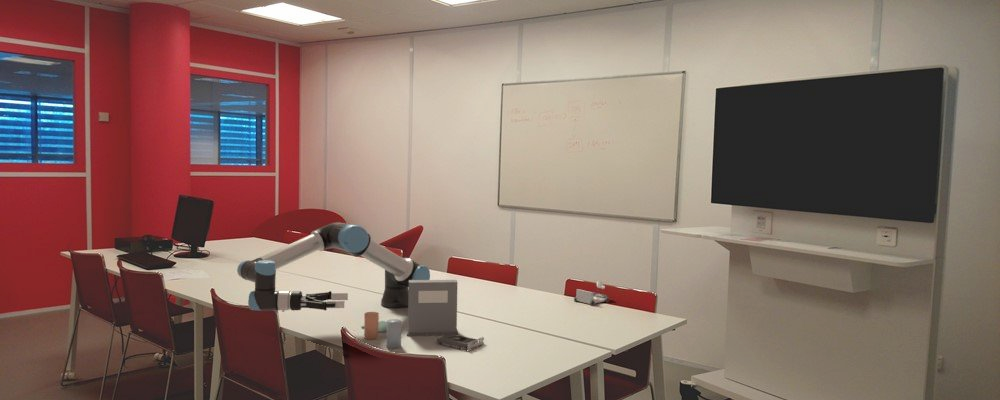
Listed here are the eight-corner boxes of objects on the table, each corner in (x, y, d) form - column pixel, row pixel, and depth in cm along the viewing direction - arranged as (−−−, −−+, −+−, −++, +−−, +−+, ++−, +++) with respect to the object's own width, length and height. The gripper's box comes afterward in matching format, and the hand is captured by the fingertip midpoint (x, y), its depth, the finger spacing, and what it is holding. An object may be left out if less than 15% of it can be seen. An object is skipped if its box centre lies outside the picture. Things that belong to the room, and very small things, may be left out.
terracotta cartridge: (361, 338, 245) (361, 313, 245) (371, 335, 250) (372, 311, 249) (370, 340, 242) (371, 316, 241) (381, 337, 247) (381, 313, 246)
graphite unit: (406, 331, 257) (407, 279, 255) (456, 330, 260) (457, 279, 258) (406, 335, 250) (407, 283, 248) (457, 334, 253) (458, 282, 251)
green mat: (361, 327, 260) (361, 326, 260) (382, 322, 270) (382, 320, 270) (380, 333, 253) (380, 331, 253) (401, 327, 263) (401, 325, 263)
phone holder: (595, 279, 328) (613, 283, 320) (595, 297, 329) (612, 301, 321) (574, 283, 316) (591, 287, 308) (573, 302, 317) (591, 306, 308)
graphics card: (486, 336, 241) (469, 343, 231) (486, 346, 241) (469, 353, 231) (451, 330, 250) (434, 336, 239) (451, 339, 250) (433, 345, 240)
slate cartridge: (383, 346, 235) (383, 321, 234) (394, 343, 240) (394, 318, 239) (393, 349, 232) (393, 323, 231) (404, 346, 236) (404, 320, 236)
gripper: (296, 302, 253) (348, 302, 256) (284, 318, 228) (342, 317, 231) (296, 284, 252) (349, 284, 255) (284, 298, 227) (343, 298, 231)
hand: (346, 300), depth 243 cm, fingers open, 13 cm apart
